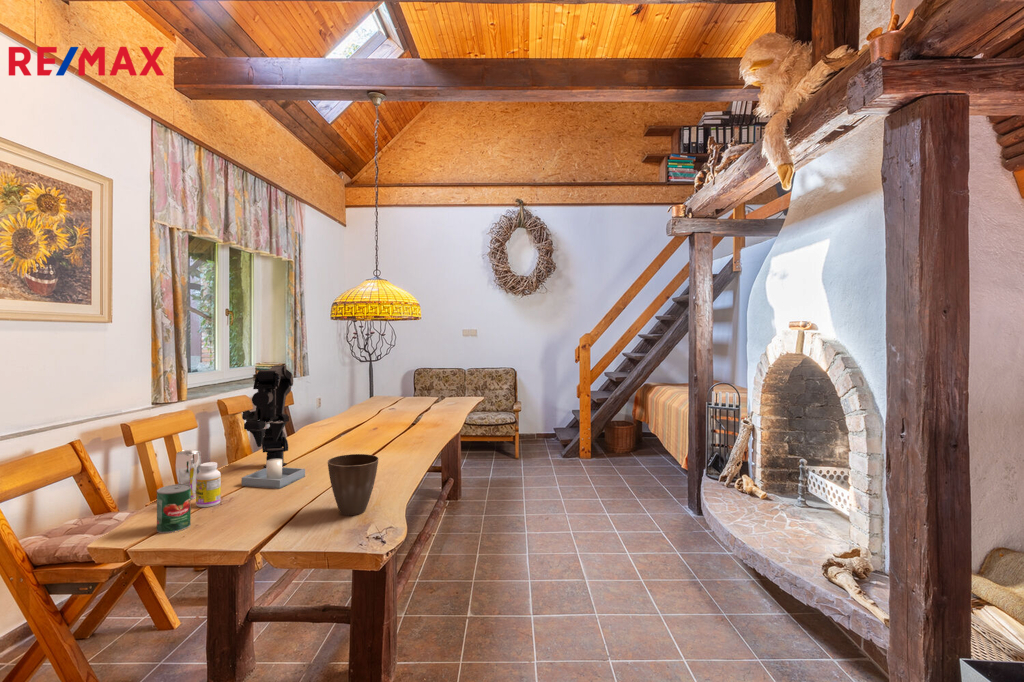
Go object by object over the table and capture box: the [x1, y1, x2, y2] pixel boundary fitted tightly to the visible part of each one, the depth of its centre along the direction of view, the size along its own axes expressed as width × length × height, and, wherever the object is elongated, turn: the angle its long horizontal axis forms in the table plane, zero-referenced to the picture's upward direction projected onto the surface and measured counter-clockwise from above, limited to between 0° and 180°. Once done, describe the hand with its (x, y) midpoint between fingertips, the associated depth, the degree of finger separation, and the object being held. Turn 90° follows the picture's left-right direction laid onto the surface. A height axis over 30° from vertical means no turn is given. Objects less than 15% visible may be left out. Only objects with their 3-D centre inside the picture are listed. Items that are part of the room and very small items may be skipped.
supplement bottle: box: [195, 461, 222, 508], centre depth 156 cm, size 7×7×13 cm
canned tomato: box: [156, 483, 192, 534], centre depth 138 cm, size 8×8×11 cm
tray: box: [241, 466, 306, 490], centre depth 181 cm, size 15×15×3 cm
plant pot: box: [327, 453, 379, 516], centre depth 152 cm, size 15×15×16 cm
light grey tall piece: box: [175, 449, 202, 500], centre depth 162 cm, size 7×7×15 cm
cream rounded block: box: [266, 459, 283, 479], centre depth 181 cm, size 5×5×7 cm
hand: (267, 444), depth 188 cm, fingers open, 9 cm apart
